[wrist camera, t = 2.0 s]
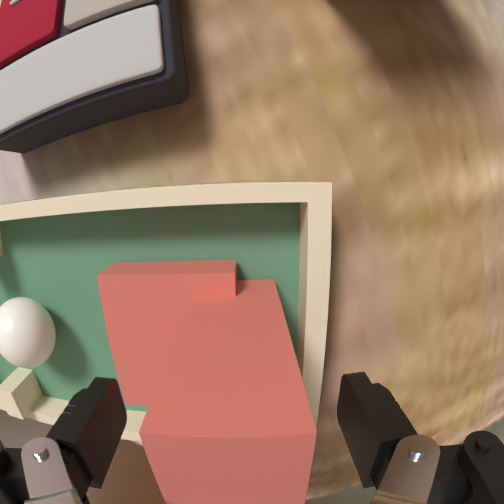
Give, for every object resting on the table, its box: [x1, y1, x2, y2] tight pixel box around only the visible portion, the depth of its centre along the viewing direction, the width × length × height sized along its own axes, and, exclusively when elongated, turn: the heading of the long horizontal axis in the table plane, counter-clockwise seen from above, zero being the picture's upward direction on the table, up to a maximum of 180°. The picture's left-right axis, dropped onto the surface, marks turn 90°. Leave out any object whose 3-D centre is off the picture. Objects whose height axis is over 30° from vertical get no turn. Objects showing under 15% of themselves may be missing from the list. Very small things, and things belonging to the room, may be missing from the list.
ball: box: [0, 297, 56, 368], centre depth 14 cm, size 4×4×4 cm
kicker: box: [97, 259, 317, 504], centre depth 11 cm, size 8×7×10 cm
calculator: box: [0, 0, 189, 153], centre depth 11 cm, size 11×4×15 cm
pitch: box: [0, 182, 332, 442], centre depth 14 cm, size 25×14×5 cm, turn 91°
